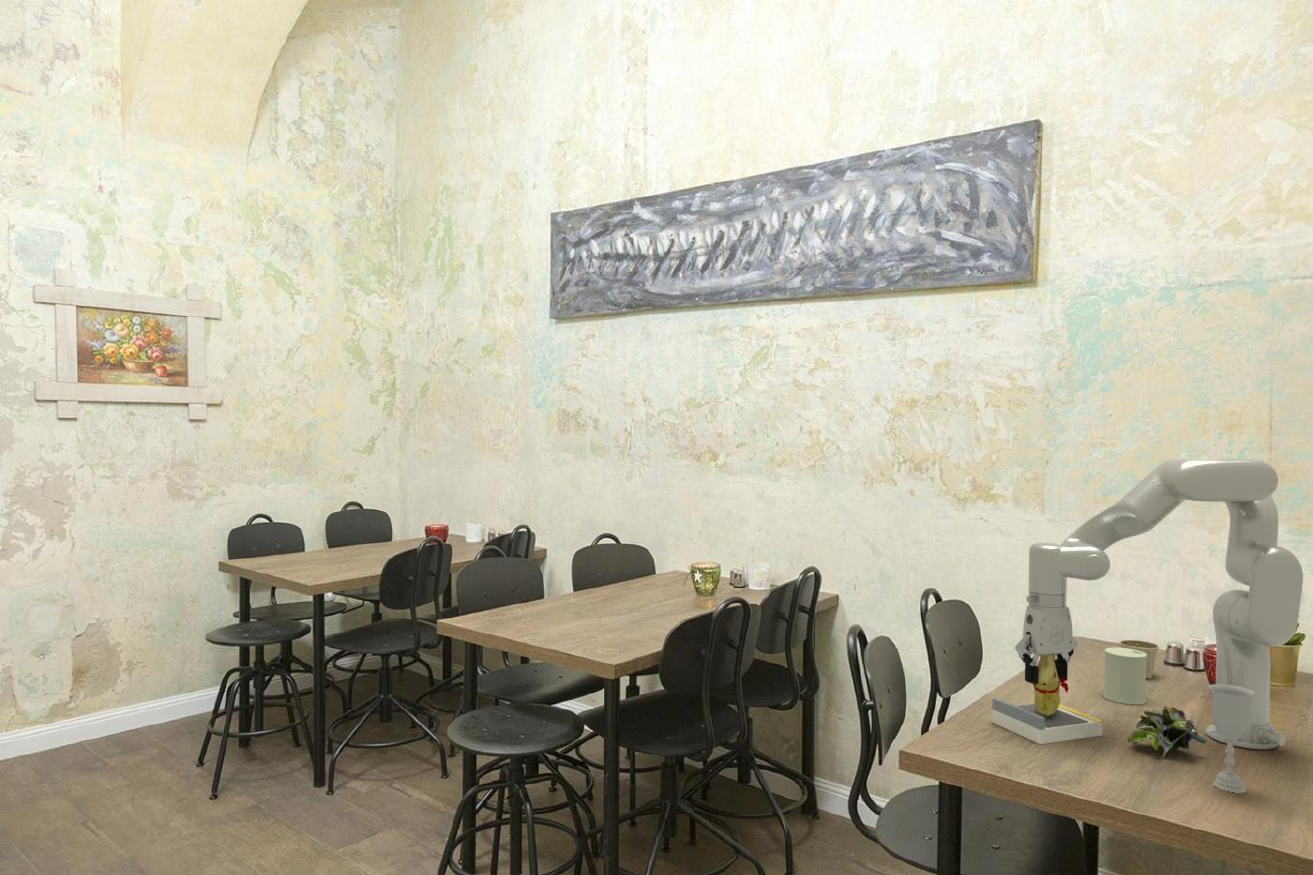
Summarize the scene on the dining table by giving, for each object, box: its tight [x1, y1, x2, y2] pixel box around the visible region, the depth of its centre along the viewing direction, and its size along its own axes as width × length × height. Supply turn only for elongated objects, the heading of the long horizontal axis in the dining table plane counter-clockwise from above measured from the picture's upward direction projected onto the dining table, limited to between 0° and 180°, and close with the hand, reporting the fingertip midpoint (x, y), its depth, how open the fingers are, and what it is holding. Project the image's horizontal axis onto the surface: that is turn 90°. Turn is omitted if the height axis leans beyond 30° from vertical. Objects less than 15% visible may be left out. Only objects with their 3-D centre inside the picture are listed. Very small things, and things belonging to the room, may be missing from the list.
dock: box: [991, 697, 1103, 745], centre depth 187 cm, size 14×17×5 cm
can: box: [1102, 646, 1147, 706], centre depth 210 cm, size 9×9×12 cm
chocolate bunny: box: [1032, 654, 1070, 716], centre depth 187 cm, size 7×11×15 cm, turn 150°
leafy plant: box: [1127, 706, 1207, 760], centre depth 174 cm, size 11×11×12 cm
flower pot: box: [1118, 639, 1160, 680], centre depth 230 cm, size 9×9×9 cm
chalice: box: [1207, 683, 1255, 794], centre depth 157 cm, size 7×7×18 cm
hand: (1046, 680), depth 187 cm, fingers closed on chocolate bunny, 7 cm apart
